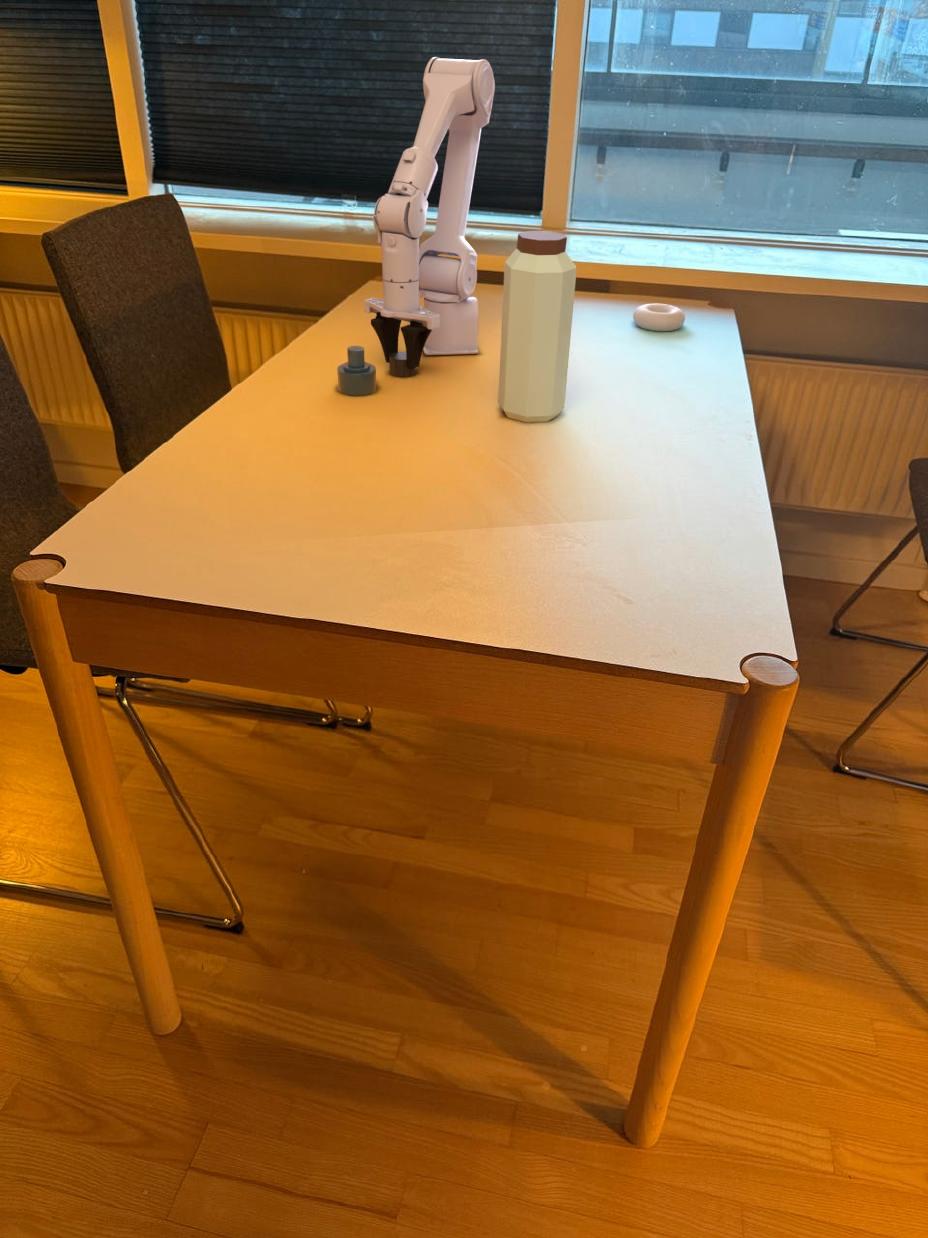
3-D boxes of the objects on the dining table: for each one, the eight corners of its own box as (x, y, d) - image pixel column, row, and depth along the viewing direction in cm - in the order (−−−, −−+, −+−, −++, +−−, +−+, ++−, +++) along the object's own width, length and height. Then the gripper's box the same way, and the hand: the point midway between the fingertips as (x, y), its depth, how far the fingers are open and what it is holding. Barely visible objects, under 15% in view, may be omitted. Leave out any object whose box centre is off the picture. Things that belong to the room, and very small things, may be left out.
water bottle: (559, 428, 129) (575, 245, 115) (492, 421, 131) (499, 240, 117) (566, 403, 137) (582, 230, 123) (503, 397, 139) (511, 225, 125)
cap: (413, 367, 150) (413, 350, 148) (416, 376, 146) (416, 359, 144) (388, 368, 149) (388, 351, 147) (391, 377, 145) (390, 360, 144)
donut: (663, 317, 180) (621, 321, 176) (666, 299, 178) (624, 303, 174) (693, 331, 172) (651, 335, 168) (697, 312, 170) (654, 316, 166)
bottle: (374, 381, 143) (373, 341, 140) (378, 395, 139) (377, 353, 135) (337, 383, 143) (334, 342, 139) (339, 396, 138) (337, 354, 134)
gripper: (349, 274, 140) (353, 360, 148) (418, 291, 133) (419, 380, 140) (380, 267, 145) (382, 350, 152) (448, 283, 137) (447, 369, 145)
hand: (402, 364), depth 147 cm, fingers closed on cap, 4 cm apart
